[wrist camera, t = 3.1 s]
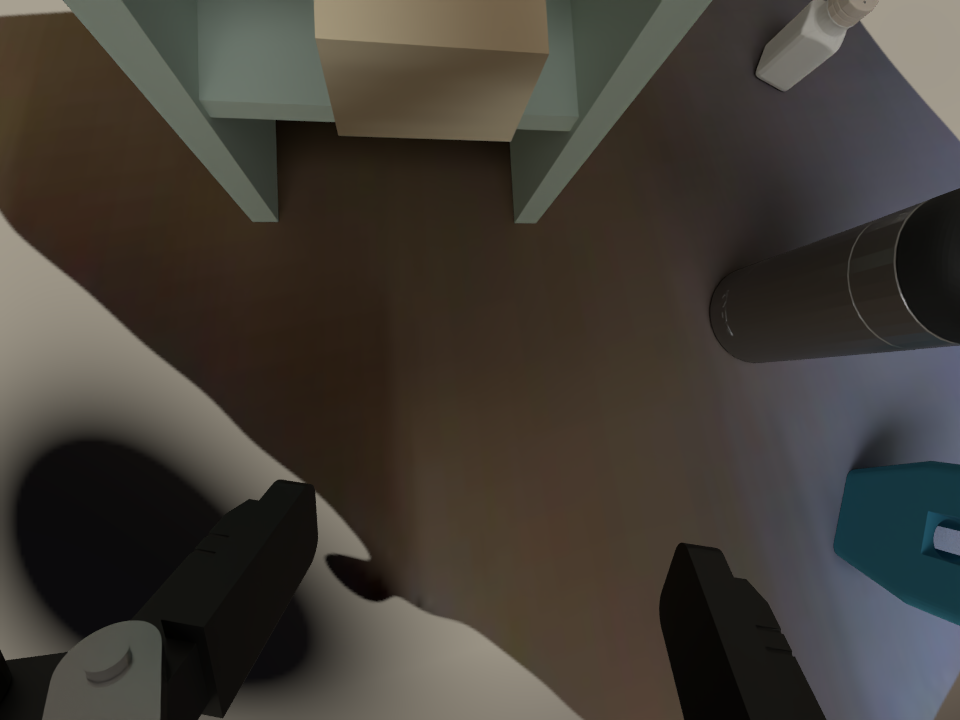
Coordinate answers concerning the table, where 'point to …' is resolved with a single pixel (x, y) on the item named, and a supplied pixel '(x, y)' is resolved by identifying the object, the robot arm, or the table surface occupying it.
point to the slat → (431, 65)
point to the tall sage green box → (304, 96)
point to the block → (904, 532)
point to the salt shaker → (809, 40)
